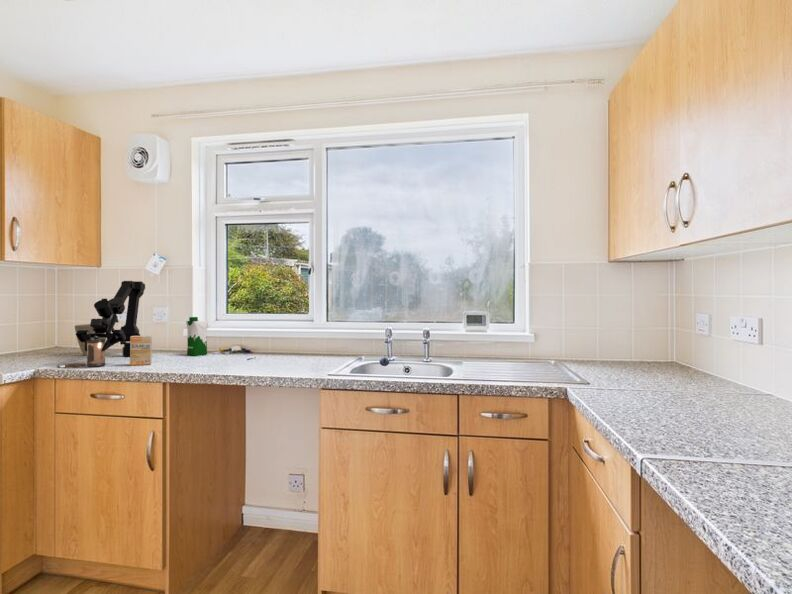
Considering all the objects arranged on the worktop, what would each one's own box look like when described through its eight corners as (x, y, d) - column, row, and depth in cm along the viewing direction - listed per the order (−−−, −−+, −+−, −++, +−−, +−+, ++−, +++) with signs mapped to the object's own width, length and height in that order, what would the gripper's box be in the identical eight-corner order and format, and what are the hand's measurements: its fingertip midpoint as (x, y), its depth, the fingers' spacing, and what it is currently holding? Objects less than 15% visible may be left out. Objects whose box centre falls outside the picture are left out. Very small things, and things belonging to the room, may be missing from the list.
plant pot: (67, 356, 226) (67, 325, 226) (97, 352, 240) (96, 323, 240) (86, 357, 221) (86, 326, 221) (115, 353, 234) (115, 324, 234)
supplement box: (129, 366, 192) (129, 336, 192) (131, 364, 196) (131, 335, 196) (151, 364, 196) (151, 335, 196) (152, 363, 200) (151, 334, 200)
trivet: (84, 363, 199) (84, 362, 199) (87, 366, 192) (87, 365, 192) (57, 366, 193) (57, 364, 193) (58, 368, 185) (58, 367, 185)
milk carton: (184, 355, 227) (184, 317, 227) (200, 353, 235) (200, 316, 235) (194, 356, 222) (194, 317, 222) (210, 354, 230) (210, 316, 230)
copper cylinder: (92, 364, 195) (91, 334, 195) (108, 363, 196) (108, 334, 196) (81, 367, 186) (80, 336, 186) (98, 367, 187) (98, 336, 187)
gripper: (77, 312, 194) (62, 339, 183) (122, 311, 197) (110, 338, 186) (87, 328, 202) (74, 355, 191) (131, 327, 205) (119, 354, 194)
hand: (94, 350), depth 191 cm, fingers closed on copper cylinder, 7 cm apart
